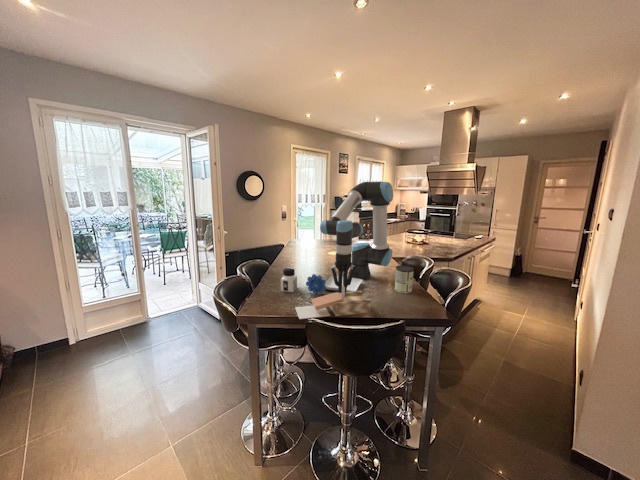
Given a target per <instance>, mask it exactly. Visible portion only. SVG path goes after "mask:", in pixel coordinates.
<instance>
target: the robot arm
mask: <svg viewBox="0 0 640 480" xmlns="http://www.w3.org/2000/svg"><path fill="white" fill-rule="evenodd" d="M393 199H394V187H393V185H392V184H391V183H390V182H388V181H363V182H360V183H359V184H357V185H355V186H354V187H352V188H351V190H349V192H347V197H346V198H345V199H344V200H343V202H342V203H341V204H340V206H338V208H337V209H336V210H335V212H334V213H333V214H332V216H331V217H330V218H329V219H324V220H322V221H321V223H320V225H319V230H320V232H321V233H322V234H324V235H328V236H336V238H335V239H336V240H335V241H336V243H335V252H336V253H335V262H334V264H333V266H330V267H329V269H330V270H331V273H332V275H333V278H334V282H335V285H336V286H338V291H337V292H338V293H340V296H341V297H342V298H343V300H344V299H345V292H346V289H347V287H348V285H350V284H351V280H352V278H357V279H362V280H363V281H364V280H369V279H371V275H372V274H371V270H370V267H369V264H370V265H377V266H381V267H387V266H388V265H389V264H390V262H391V260H392V257H393V249H392V248H390V244H389V243H388V206H389V205H390V203H391V202H393ZM362 202H369V203H370V206H371V208H372V244H371V245H370V243H369V242H359V243H355V244H353V243H352V242H353V239H355V238H358V237H360V236H361V235H362V234H363V232H364V225H363V224H362V223H361V222H358V221H353V222H352V220H347V219H348V218H349V217H350V215H351V214H352V212H353V211H354V210H355V208H356V207H357V206H358V205H360V204H361V203H362ZM336 270H338V271H337V272H336ZM337 273H338V275H337ZM337 276H338V279H337ZM342 276H343V285H342ZM347 277H348V279H347Z"/></svg>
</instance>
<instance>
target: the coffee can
mask: <svg viewBox="0 0 640 480" xmlns="http://www.w3.org/2000/svg"><path fill="white" fill-rule="evenodd" d="M414 270H415V268H414V267H412V266H409V265H397V266H395V279H394V291H396V292H398V293H400V294H401V293H402V294H410V293H412V292H413V283H414V282H413V281H414V272H415V271H414Z"/></svg>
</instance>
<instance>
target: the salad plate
mask: <svg viewBox="0 0 640 480" xmlns="http://www.w3.org/2000/svg"><path fill="white" fill-rule="evenodd" d="M337 279H338V275H337ZM347 279H348V276H347ZM325 281H326V283H325V284H324V285H325V286H326V289H325V290H328V291H333V292H334V291H335V292H339V291H338V286H336V285H335V282H334V278H333V274H332V275H331V276H329V278H327V280H325ZM363 281H364V280H362V279H357V278H352V280H351V284H350V285H348V287H347V289H346V292H351V291H358V290H359V286H361V284H362V283H363ZM342 285H343V275H342Z"/></svg>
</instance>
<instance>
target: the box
mask: <svg viewBox="0 0 640 480" xmlns="http://www.w3.org/2000/svg"><path fill="white" fill-rule="evenodd" d="M332 293H333V292H331V293H330V292H329V294H332ZM338 293H339V292H338ZM339 295H340V293H339ZM371 304H372V299H371V298H366V297H365V296H364V295H363V291H362V290H357V291H351V292H345V299H344V300H343V302H335V305H333V306H330V307H329V308H330V310H331V311H332V313H333V314H334V316H335V317H341V316H350V315H359V314H367V313H371V309H372V308H371V307H372V305H371Z"/></svg>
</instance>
